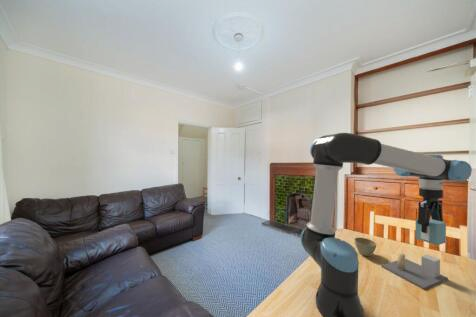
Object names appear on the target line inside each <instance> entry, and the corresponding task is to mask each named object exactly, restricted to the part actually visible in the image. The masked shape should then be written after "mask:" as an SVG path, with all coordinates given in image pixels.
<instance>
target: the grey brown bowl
mask: <svg viewBox="0 0 476 317" xmlns="http://www.w3.org/2000/svg"><path fill="white" fill-rule="evenodd" d="M354 244H355V247H356V248H357V251H358V253H359V254H360V255H362V256H365V257H370V256H372V255H373V253H374V252H375V251H376V248H377V243H376V242H375V241H373V240H372V239H369V238H367V237H366V238H365V237H355V238H354Z"/></svg>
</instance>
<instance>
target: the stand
mask: <svg viewBox="0 0 476 317" xmlns="http://www.w3.org/2000/svg"><path fill="white" fill-rule="evenodd" d="M381 268H383V269H384V270H387V271H388V272H390V273H392V274H394V275H396V276H397V277H399V278H401V279H403V280H405V281H407V282H408V283H411V284H413V285H414V286H416V287H417V288H420V289H422V290H426V289H428V288H431V287H433V286H436V285H438V284H441V283H443V282H445V281H448V280H449V279H448V278H449V277H447V276H445V275H443V274H441V259H440V258H437V257H435V256H432V255H429V254H424V255H421V264H418V263H417V262H414V261H412V260H409V259H407V258H406V255H405V254H404V253H403V252H397V259H396V260H395V261H391V262H388V263H385V264H381Z"/></svg>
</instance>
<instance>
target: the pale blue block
mask: <svg viewBox="0 0 476 317" xmlns="http://www.w3.org/2000/svg"><path fill="white" fill-rule="evenodd" d="M428 226H430V241H427V240H424V239H421V225H420V224H418V218H416V219H415V239H417V240H419V241H423V242H426V243H428V244H431V245H433V246H440V245H443V244H446V243H447V222H445V221H437V220H433V219H432V218H430V221H429V225H428Z"/></svg>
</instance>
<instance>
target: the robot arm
mask: <svg viewBox="0 0 476 317" xmlns="http://www.w3.org/2000/svg"><path fill="white" fill-rule="evenodd" d="M309 150H310V153H309V154H310V155H311V157H312V159H313V161H312V162H313V163H312V165H313V166H314V167H315V178H314V188H313V197H312V205H311V213H310V221H309V222H307V223H306V225H305V226H306V227H304V229H302V231H301V234H300V242H301V245H302V247H303V249H304V250H305V252H306V253H307V254H308V255H309V256H310V257H311V258H312V260H313V261H314V262H315V263H316V265H318V267H319V268H320V283H319V286H318V289H317V291H316V293H315V306H316V307H317V310H318V309H319V310H318V311H319V312H320V314H321V315H322V316H323V317H365V312H364V308H363V306H362V303H361V300H360V297H359V264H360V262H359V256H358V255H359V254H358V252H357V250H356V248H355V247H354V246H353V245H352V244H350V242H348V241H346V240H341V239H340V238H336V230H335V229H334V228H333V221H334V220H333V218H334V212H335V210H334V209H335V201H336V192H337V183H338V174H339V171H340V170H341V169H343V167H344V163H346V164H347V163H350V164H351V163H352V164H362V165H365V166H366V165H368V166H369V165H373V164H375V165H378V166H379V165H380V166H383V167H388V168H391V169H393V172H394V174H396V175H397V176H400V177H415V178H416V177H417V178H418V187H419V188H418V196H420V197H422V202H421V201H418V211H417V212H418V213H417V219H418V224H420V225H421V239H424V240H427V241H430V226H428V225H429V221H430V219H433V220H437V221H442V222H444V216H443V200H441V199H443V198H444V190H443V189H444V185H445V182H444V180H445V181H451V182H464V181H467V180H468V179H469V178H471V177H472V172H473V168H472V166H471V164H470V163H469V162H467V161H465V160H459V159H458V160H457V159H445V158H444V156H443V155H441V154H425V153H420V152H417V151H416V152H415V151H412V150H408V149H403V148H400V147H396V146H392V145H388V144H383V143H382V142H381V141H380V140H379V139H375V138H371V137H369V136H368V137H367V136H365V135H364V136H363V135H360V134H356V133H349V132H338V133H334V134H326V135H322V136H320V137H318V138H316V139H315V140H313V142H312V143H311V145H310V148H309Z"/></svg>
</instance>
